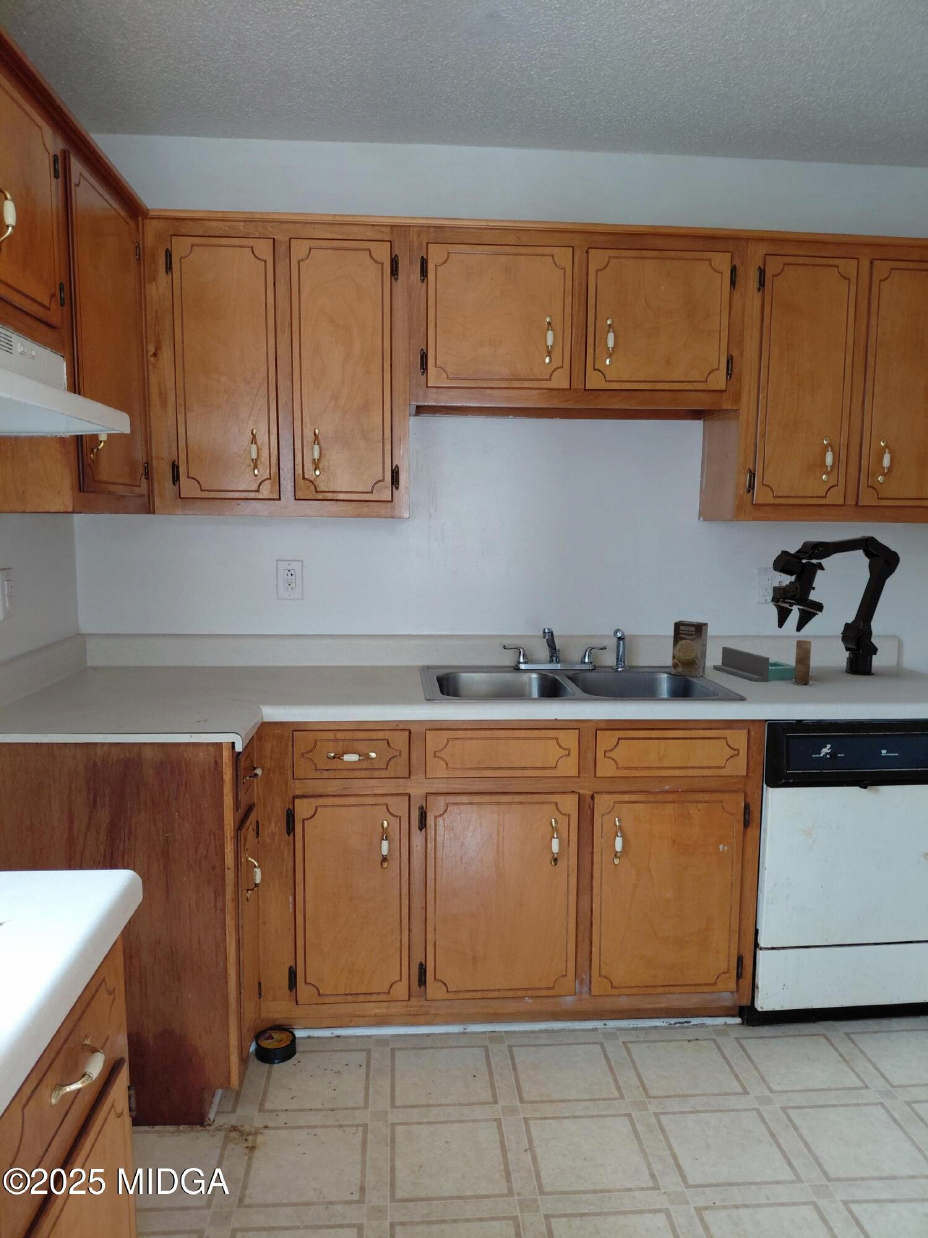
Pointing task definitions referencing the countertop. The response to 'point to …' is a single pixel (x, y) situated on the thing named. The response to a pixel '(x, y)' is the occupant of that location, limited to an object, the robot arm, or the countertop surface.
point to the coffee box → (689, 648)
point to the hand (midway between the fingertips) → (788, 630)
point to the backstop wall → (744, 664)
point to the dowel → (802, 662)
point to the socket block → (780, 671)
